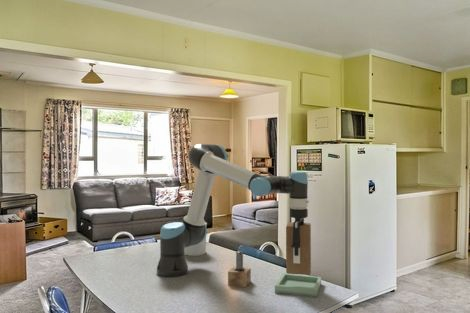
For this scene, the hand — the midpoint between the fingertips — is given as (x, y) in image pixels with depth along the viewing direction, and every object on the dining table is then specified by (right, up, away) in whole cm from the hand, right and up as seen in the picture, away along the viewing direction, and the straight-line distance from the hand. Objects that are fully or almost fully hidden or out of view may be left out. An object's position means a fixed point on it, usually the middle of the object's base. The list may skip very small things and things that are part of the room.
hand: (298, 259), depth 163 cm
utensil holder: (-51, -13, +61) cm, 80 cm away
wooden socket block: (-25, -12, +6) cm, 29 cm away
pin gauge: (-25, -12, +6) cm, 29 cm away
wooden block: (0, -5, 0) cm, 5 cm away
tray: (0, -12, 0) cm, 12 cm away
